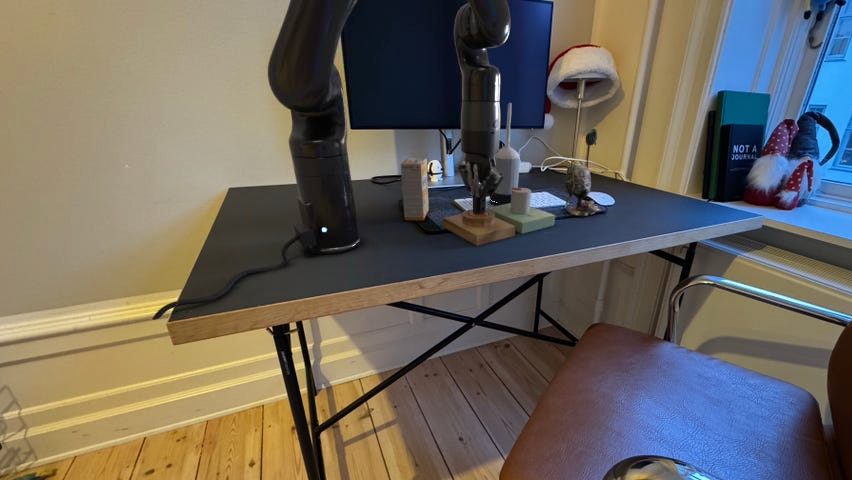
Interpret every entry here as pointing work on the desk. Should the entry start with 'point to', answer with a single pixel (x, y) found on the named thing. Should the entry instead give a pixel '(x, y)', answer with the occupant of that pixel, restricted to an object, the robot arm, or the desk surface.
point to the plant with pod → (581, 183)
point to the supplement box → (415, 188)
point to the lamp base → (479, 227)
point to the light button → (478, 215)
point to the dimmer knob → (520, 200)
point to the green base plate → (523, 218)
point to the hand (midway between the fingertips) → (479, 213)
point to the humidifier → (506, 169)
